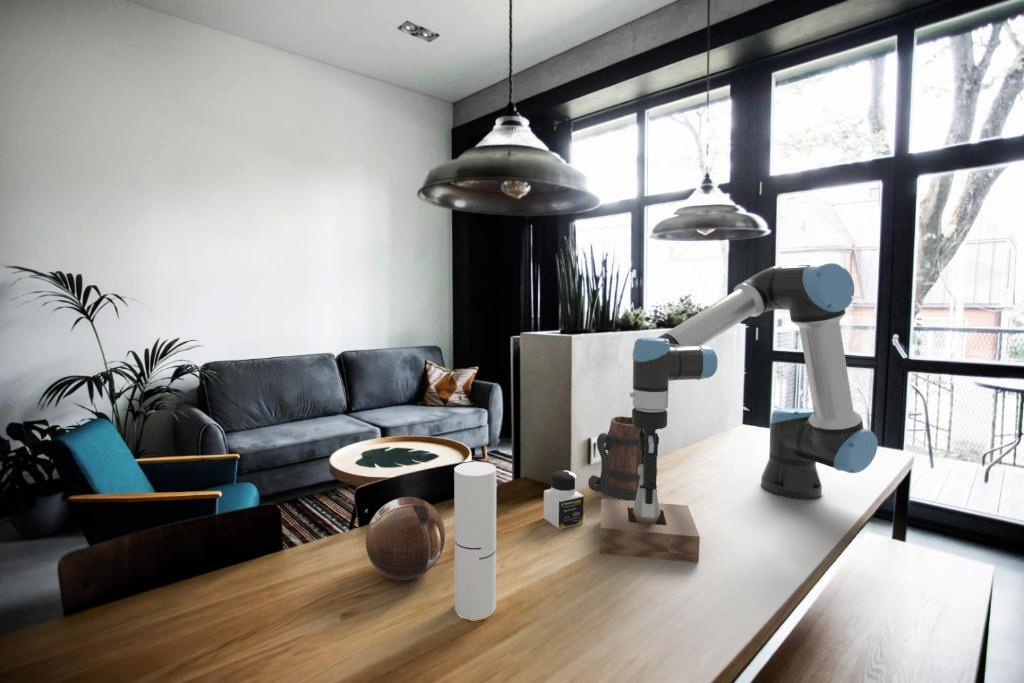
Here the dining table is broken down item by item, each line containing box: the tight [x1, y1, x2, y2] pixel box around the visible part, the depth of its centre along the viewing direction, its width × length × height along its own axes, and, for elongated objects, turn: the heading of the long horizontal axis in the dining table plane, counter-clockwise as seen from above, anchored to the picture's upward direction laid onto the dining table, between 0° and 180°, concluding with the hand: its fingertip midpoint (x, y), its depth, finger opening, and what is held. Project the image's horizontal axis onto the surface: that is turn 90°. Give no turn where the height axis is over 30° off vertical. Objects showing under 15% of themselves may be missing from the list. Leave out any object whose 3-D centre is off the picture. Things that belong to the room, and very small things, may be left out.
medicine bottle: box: [543, 469, 585, 530], centre depth 123 cm, size 7×7×12 cm
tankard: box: [587, 415, 658, 501], centre depth 142 cm, size 24×17×20 cm
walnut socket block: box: [599, 498, 701, 563], centre depth 114 cm, size 20×16×6 cm
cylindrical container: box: [453, 461, 497, 620], centre depth 87 cm, size 7×7×25 cm
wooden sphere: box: [365, 496, 446, 581], centre depth 99 cm, size 15×15×15 cm
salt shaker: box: [633, 464, 660, 524], centre depth 113 cm, size 6×6×13 cm
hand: (646, 510), depth 113 cm, fingers closed on salt shaker, 6 cm apart
